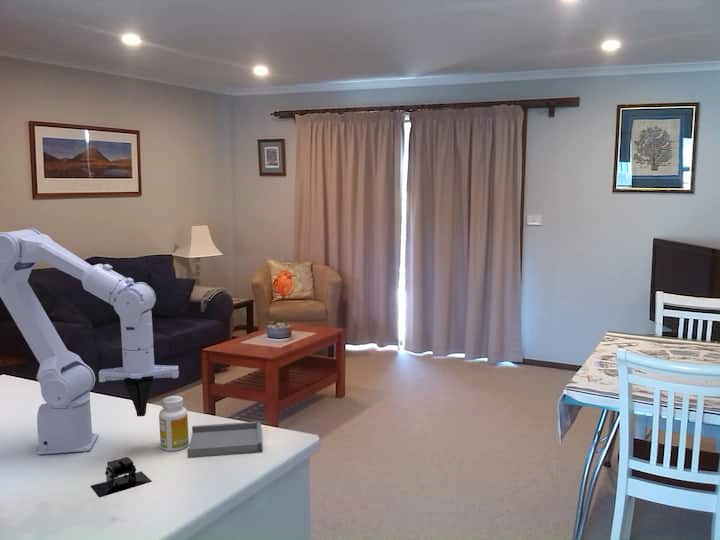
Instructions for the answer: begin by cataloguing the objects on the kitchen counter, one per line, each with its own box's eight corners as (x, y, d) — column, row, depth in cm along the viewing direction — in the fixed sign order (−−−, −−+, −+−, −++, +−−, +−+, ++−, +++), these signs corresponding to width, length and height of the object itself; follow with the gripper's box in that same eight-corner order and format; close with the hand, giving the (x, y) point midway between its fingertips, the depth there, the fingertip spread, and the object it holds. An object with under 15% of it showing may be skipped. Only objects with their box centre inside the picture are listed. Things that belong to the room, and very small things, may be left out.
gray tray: (187, 457, 125) (187, 449, 125) (192, 433, 137) (192, 425, 136) (262, 451, 127) (261, 444, 127) (260, 428, 139) (260, 421, 139)
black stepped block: (90, 505, 108) (89, 479, 107) (78, 489, 114) (76, 464, 113) (163, 483, 116) (162, 459, 115) (148, 469, 121) (147, 445, 121)
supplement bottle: (192, 441, 133) (190, 394, 131) (183, 452, 127) (180, 404, 126) (166, 440, 133) (164, 394, 132) (156, 451, 128) (153, 403, 126)
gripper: (93, 354, 121) (98, 424, 123) (174, 350, 124) (177, 419, 126) (101, 344, 128) (105, 411, 130) (178, 341, 130) (181, 406, 132)
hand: (141, 414), depth 128 cm, fingers closed
